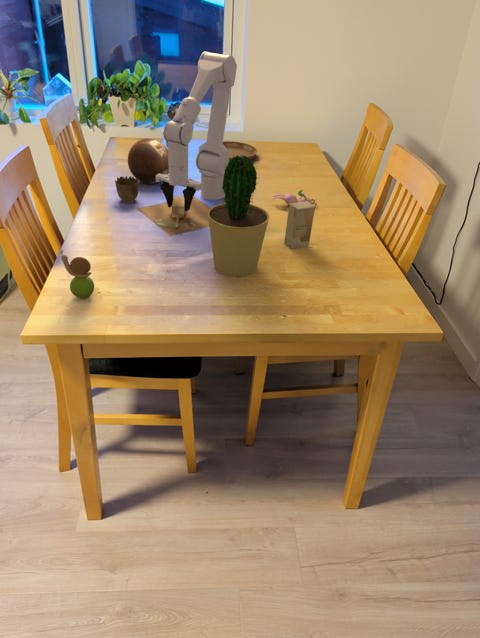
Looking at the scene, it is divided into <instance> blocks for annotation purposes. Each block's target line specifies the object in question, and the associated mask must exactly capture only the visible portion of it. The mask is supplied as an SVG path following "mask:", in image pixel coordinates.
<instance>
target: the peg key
mask: <svg viewBox="0 0 480 638" xmlns="http://www.w3.org/2000/svg"><path fill="white" fill-rule="evenodd" d="M185 215H186V211H185V202H184V195H183V196H182V195H181V196H180V195H179V196H177V195H173V203H172V217H173V218H177V219H176V224H175V228H177V226H178V221H179V218H184V216H185Z"/></svg>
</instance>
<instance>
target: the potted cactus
mask: <svg viewBox="0 0 480 638" xmlns="http://www.w3.org/2000/svg"><path fill="white" fill-rule="evenodd" d="M222 165H223V164H222ZM255 165H256V163H253V161H252V160H251V159H248V155H247V156H245V155H244V156H243V155H242V157H241V156H236V157H232V159H230V161H229V162H228V165H227V164H226V165H225V166H227V167H226V169H225V173H224V178H223V177H222V178H223V186H222V187H221V188H222V189H223V190H222V193H223V191H224V193H225V196H223V197H225V198H224V202H223V203H219V204H216V205H214V206H213V207H211V209H210V210H209V211H208V220H209V227H208V228H209V233H210V234H209V235H210V241H211V248H212V257H213V265H214V268H215V270H216V271H217V272H218V273H220V274H221V275H224V276H227V277H232V278H239V277H242V276H243V277H247V276H250V275H252V274H254V273H255V271H256V270H257V268H258V263H259V259H260V256H261V252H262V248H263V244H264V243H263V242H264V241H265V236H266V232H267V228H268V224H269V220H270V214H269V212H268V211H267V210H265V209H264V208H262V207H260V206H257V205H255V204H251V203H253V200H254V195H253V194H255V191H258V188H256V187H257V183H260V182H259V181H258V179H260V178H261V177H258V175H259V174H258V172H257V167H256V166H255ZM223 167H224V166H223ZM221 171H224V170H221ZM221 176H223V175H221ZM219 192H220V191H219ZM224 193H223V194H224ZM219 195H220V194H219Z"/></svg>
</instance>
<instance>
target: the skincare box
mask: <svg viewBox="0 0 480 638" xmlns="http://www.w3.org/2000/svg"><path fill="white" fill-rule="evenodd" d="M315 209H316V207H315V204H313V205H312V204H311V203H309V202H308V201H305V202H297V203H290V204H288V210H287V212H288V213H287V217H286V219H287V220H286V224H285V225H286V227H285V233H284V241H283V242H284V244H285V245H286V246H288V247H289V248H290V249H297V248H298V249H299V248H304V247H309V246H308V245H310V240H311V235H312V229H313V228H312V227H313V223H314V222H313V221H314V217H315V216H314V215H315Z"/></svg>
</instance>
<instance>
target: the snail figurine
mask: <svg viewBox="0 0 480 638" xmlns="http://www.w3.org/2000/svg"><path fill="white" fill-rule="evenodd" d="M63 252H64V251H63V249H61V250H60V251H59V253H60V259H61V261H62V263H63V266H64V268H65V270H66V271H67V272H68V274H69V275H70V276H73V278H72V279H71V280H70V283H69V290H70V292H71V294H72V295H73V296H75V297H76V298H79V299H87V298H88V297H89V298H90V296H91V295H92V294H93V293H94V291H95V282H94V281H93V279H92V278H91V277H90V276H91V275H92V271H90V270H91V263H90V261H89V259H87V258H85V257H82V256H76V257H74V258H72V259H71V260H70V263H69V257H68V256H67V255H66V254H63Z"/></svg>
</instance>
